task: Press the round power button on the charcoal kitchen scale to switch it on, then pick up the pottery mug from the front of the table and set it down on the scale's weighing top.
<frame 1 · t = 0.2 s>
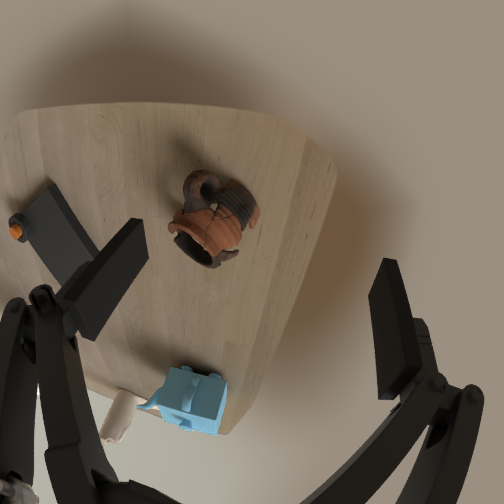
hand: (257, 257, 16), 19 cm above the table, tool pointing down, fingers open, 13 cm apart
scale: (60, 238, 45), on the table
scale button: (15, 231, 41), point 4 cm above the table, slide at 0.1 cm
teapot: (189, 375, 63), on the table
pottery mug: (218, 203, 36), on the table
candle: (139, 399, 81), on the table
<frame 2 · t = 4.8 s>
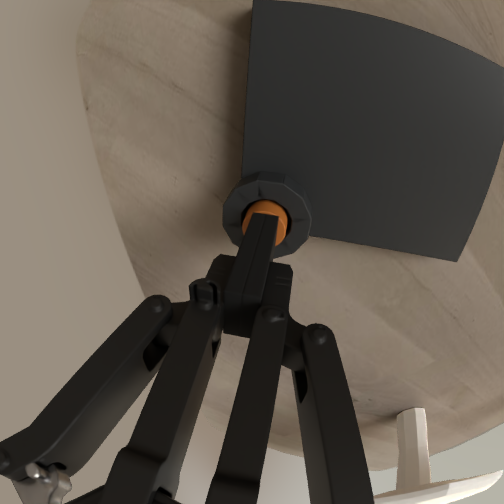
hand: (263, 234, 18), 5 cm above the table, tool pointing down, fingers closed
scale: (380, 133, 17), on the table
scale button: (265, 223, 18), point 4 cm above the table, slide at -0.1 cm, touching gripper
table 2: (410, 412, 38), on the table
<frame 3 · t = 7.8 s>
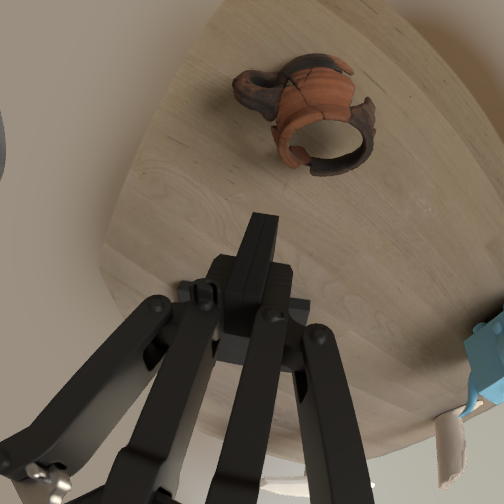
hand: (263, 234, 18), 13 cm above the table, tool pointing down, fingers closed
scale: (243, 327, 43), on the table
teapot: (487, 332, 36), on the table
table 2: (320, 430, 63), on the table
pottery mug: (307, 101, 24), on the table
candle: (458, 411, 52), on the table
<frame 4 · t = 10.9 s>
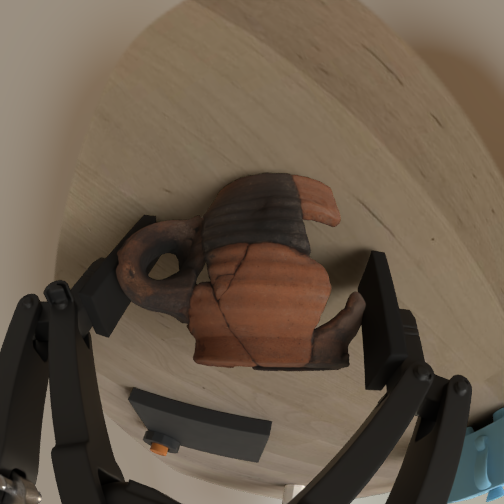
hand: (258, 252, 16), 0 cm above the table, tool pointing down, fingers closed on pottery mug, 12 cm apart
scale: (203, 427, 36), on the table
scale button: (159, 448, 37), point 4 cm above the table, slide at 0.1 cm
teapot: (472, 430, 29), on the table
table 2: (295, 485, 56), on the table
pottery mug: (259, 246, 17), on the table, touching gripper
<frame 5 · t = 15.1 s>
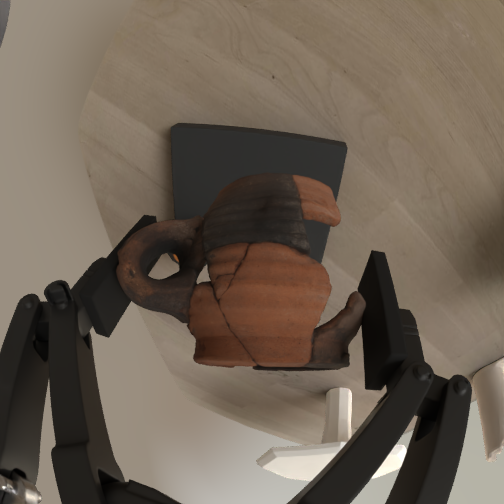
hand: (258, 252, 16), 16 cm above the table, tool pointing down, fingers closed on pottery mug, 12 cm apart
scale: (253, 196, 32), on the table
scale button: (186, 252, 33), point 4 cm above the table, slide at 0.1 cm
table 2: (339, 392, 53), on the table
pottery mug: (259, 245, 17), point 16 cm above the table, touching gripper
candle: (499, 365, 42), on the table
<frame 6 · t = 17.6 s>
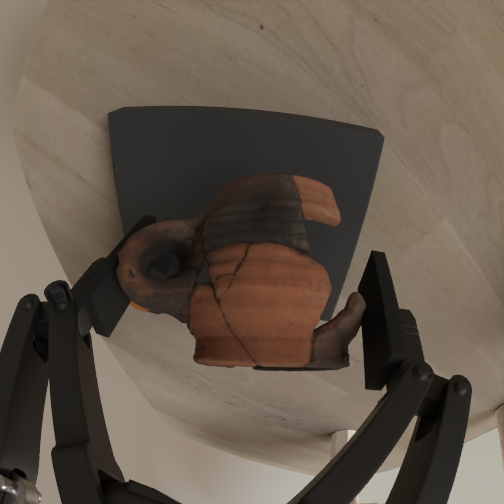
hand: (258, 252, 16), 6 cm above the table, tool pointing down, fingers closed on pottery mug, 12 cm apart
scale: (235, 212, 21), on the table
scale button: (142, 293, 23), point 4 cm above the table, slide at 0.1 cm
table 2: (346, 433, 42), on the table
pottery mug: (259, 246, 17), point 5 cm above the table, touching gripper
when the fingers open (2 cm above the table, at t = 19.3 s): pottery mug stays where it is, resting on scale.
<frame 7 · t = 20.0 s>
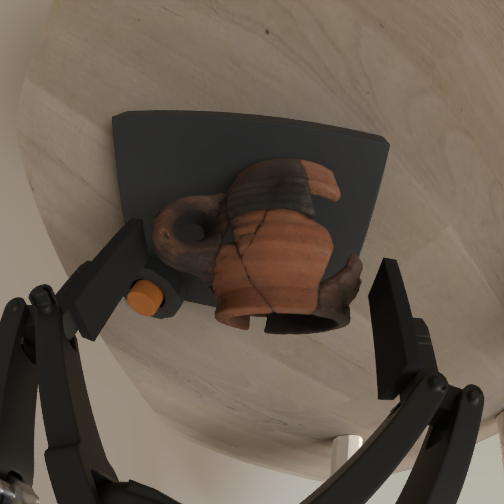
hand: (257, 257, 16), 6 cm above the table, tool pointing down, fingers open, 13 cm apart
scale: (239, 218, 21), on the table
scale button: (145, 297, 23), point 4 cm above the table, slide at 0.1 cm
table 2: (347, 438, 42), on the table
pottery mug: (271, 222, 19), point 2 cm above the table, touching scale
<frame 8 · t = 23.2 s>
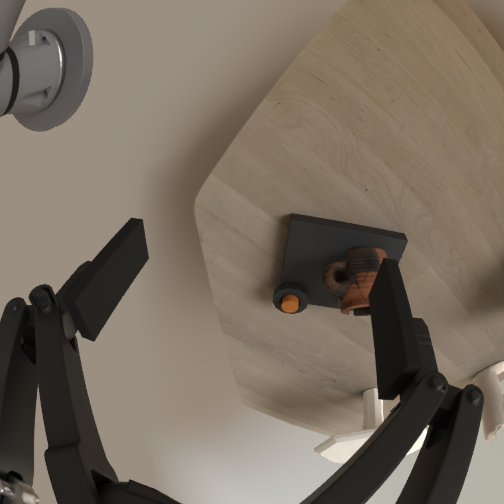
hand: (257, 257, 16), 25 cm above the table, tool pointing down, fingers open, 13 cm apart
scale: (339, 264, 45), on the table
scale button: (290, 303, 46), point 4 cm above the table, slide at 0.1 cm
table 2: (372, 391, 66), on the table
pottery mug: (356, 268, 43), point 2 cm above the table, touching scale
candle: (494, 369, 55), on the table
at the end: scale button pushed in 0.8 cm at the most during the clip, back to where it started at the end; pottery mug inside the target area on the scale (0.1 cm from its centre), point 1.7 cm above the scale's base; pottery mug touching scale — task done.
